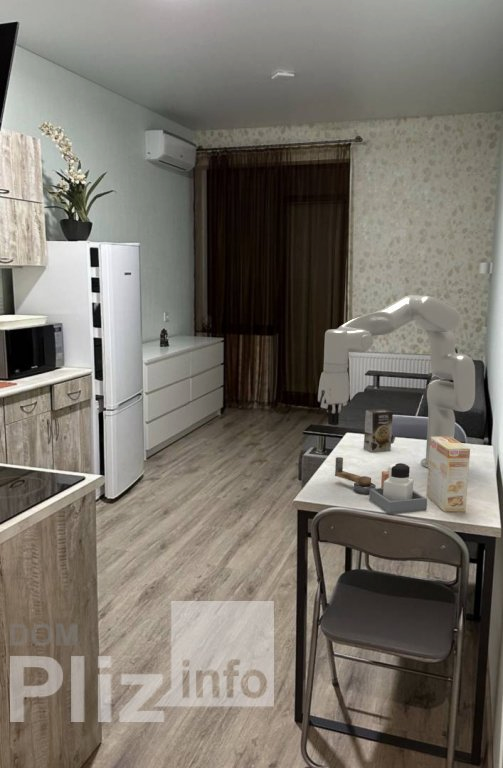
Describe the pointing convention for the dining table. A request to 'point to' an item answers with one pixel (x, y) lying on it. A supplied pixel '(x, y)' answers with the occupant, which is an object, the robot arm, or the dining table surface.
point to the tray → (397, 502)
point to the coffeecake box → (448, 473)
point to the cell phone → (392, 438)
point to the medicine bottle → (398, 483)
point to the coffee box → (378, 430)
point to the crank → (352, 477)
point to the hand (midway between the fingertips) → (333, 424)
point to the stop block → (384, 477)
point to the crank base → (363, 488)
